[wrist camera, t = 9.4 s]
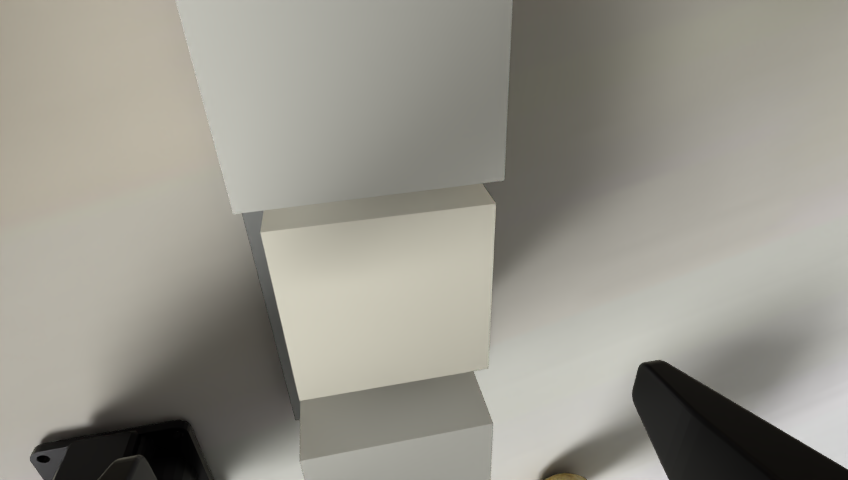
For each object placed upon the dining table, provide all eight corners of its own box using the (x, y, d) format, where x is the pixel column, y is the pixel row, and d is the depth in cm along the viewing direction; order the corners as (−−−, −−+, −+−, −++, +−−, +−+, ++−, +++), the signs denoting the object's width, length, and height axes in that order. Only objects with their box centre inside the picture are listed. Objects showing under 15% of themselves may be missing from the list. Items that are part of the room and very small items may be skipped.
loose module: (443, 250, 19) (493, 367, 14) (301, 269, 18) (299, 400, 13) (441, 117, 16) (502, 202, 11) (275, 133, 15) (260, 232, 10)
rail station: (461, 370, 25) (528, 559, 18) (295, 399, 24) (291, 615, 16) (460, -225, 14) (653, -416, 6) (140, -223, 12) (-116, -454, 5)
